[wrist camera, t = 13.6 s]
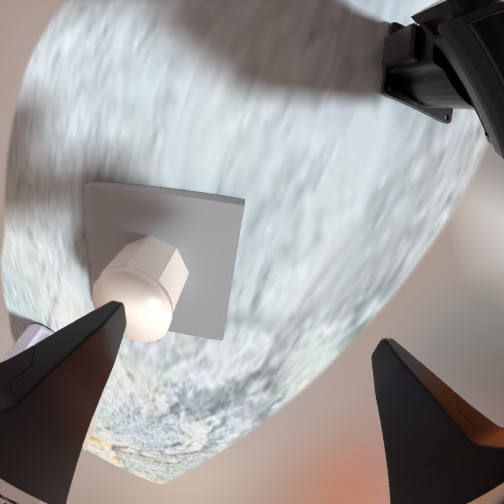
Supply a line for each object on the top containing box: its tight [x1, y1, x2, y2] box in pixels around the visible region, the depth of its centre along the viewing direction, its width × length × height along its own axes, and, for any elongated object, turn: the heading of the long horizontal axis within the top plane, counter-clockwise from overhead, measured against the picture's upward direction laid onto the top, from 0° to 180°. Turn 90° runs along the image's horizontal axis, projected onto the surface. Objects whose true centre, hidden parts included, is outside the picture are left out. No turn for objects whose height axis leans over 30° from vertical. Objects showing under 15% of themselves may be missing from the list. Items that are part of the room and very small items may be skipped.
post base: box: [84, 181, 245, 340], centre depth 19 cm, size 12×12×6 cm
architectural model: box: [82, 417, 96, 450], centre depth 32 cm, size 3×7×7 cm, turn 167°
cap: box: [92, 235, 189, 342], centre depth 17 cm, size 5×5×5 cm
